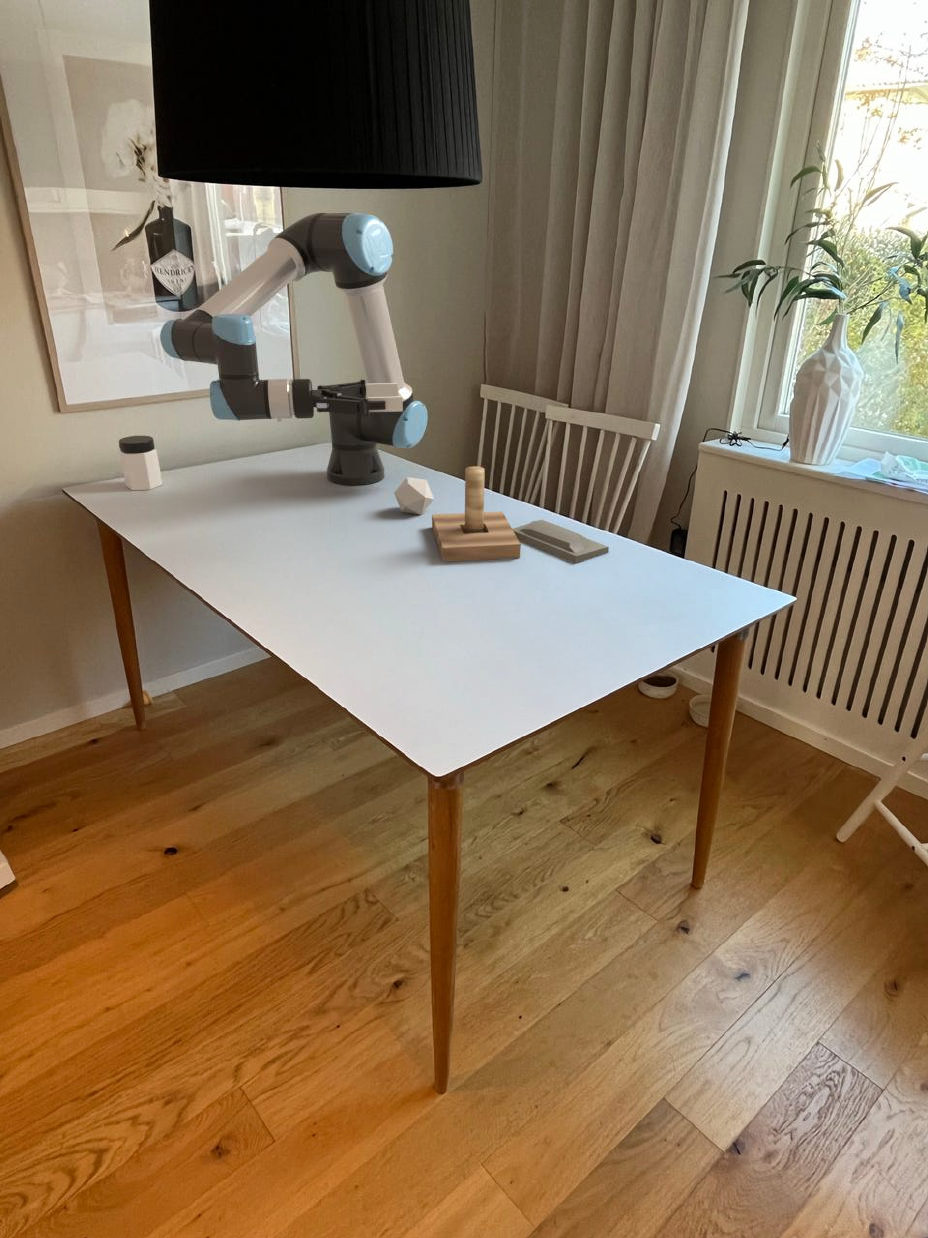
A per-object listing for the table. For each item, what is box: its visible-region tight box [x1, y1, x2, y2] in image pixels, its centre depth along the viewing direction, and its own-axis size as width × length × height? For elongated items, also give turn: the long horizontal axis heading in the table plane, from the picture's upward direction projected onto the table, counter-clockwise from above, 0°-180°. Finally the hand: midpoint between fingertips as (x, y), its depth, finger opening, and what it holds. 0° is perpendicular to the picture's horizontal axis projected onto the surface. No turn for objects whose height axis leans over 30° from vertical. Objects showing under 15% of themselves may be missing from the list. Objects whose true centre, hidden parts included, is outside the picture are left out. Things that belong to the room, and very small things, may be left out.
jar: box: [118, 435, 163, 492], centre depth 201 cm, size 9×8×12 cm
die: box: [393, 476, 435, 516], centre depth 186 cm, size 8×9×10 cm
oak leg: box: [464, 466, 486, 534], centre depth 167 cm, size 4×4×16 cm
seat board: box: [431, 511, 522, 563], centre depth 170 cm, size 20×16×3 cm
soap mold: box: [512, 519, 610, 565], centre depth 170 cm, size 10×20×4 cm, turn 40°
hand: (400, 396), depth 160 cm, fingers open, 13 cm apart
